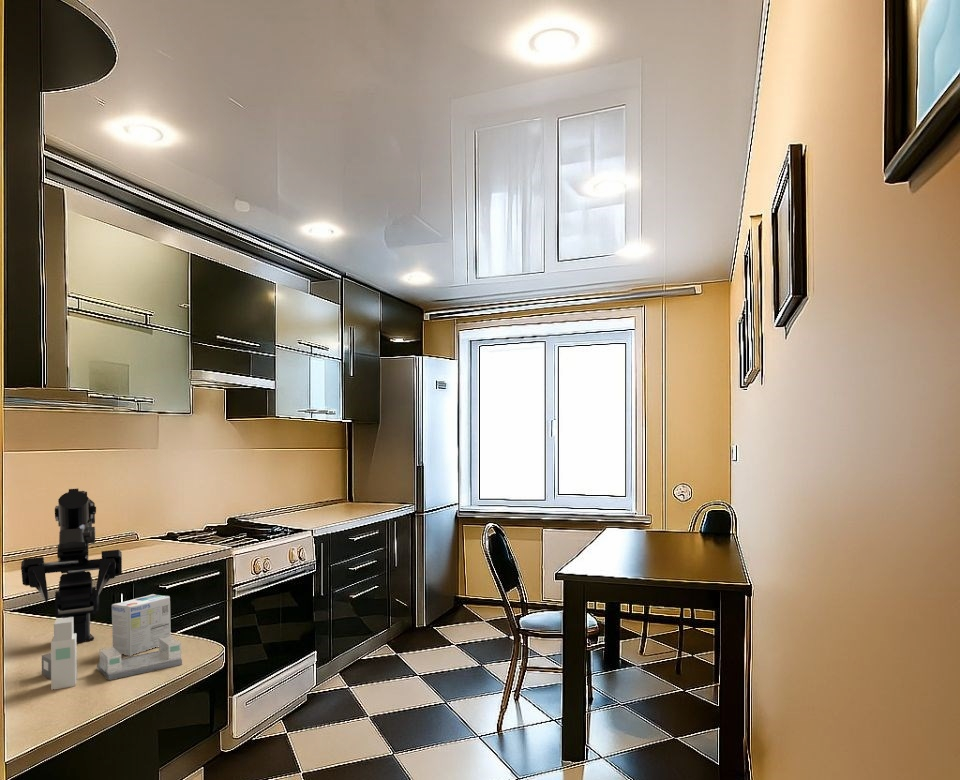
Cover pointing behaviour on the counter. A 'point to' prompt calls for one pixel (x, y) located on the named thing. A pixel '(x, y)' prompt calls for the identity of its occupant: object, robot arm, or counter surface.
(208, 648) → the counter surface
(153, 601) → the light bulb box
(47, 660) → the block
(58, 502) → the robot arm
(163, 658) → the mounting plate
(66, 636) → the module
